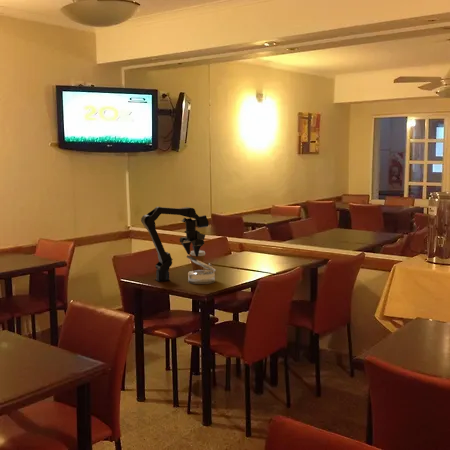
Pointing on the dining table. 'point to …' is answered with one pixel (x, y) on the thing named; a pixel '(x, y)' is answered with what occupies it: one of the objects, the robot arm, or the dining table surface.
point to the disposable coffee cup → (199, 257)
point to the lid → (201, 263)
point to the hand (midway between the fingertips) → (192, 255)
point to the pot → (201, 277)
